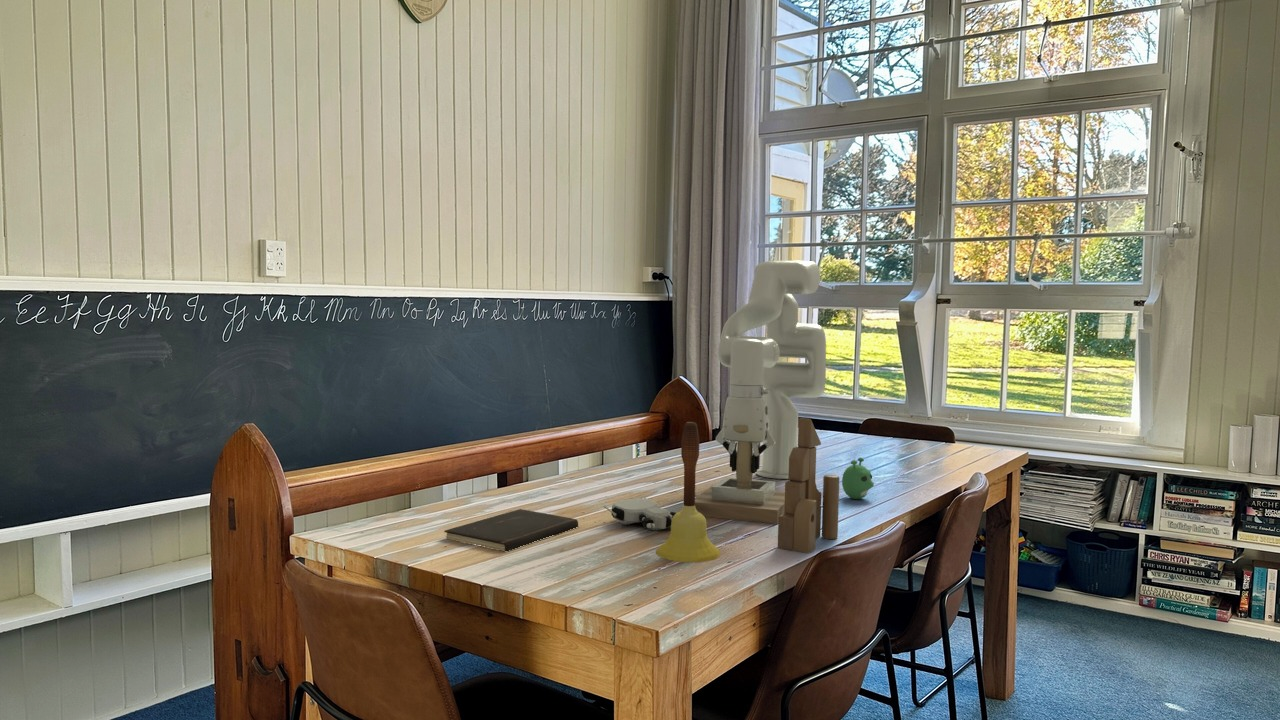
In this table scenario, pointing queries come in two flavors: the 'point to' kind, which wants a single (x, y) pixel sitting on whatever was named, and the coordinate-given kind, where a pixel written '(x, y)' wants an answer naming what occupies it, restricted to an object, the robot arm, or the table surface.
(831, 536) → the wooden toy
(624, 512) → the robot toy
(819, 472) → the table surface
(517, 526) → the hardcover book
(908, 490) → the table surface
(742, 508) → the board
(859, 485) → the alien toy
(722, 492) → the collar
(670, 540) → the handbell
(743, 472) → the handle
